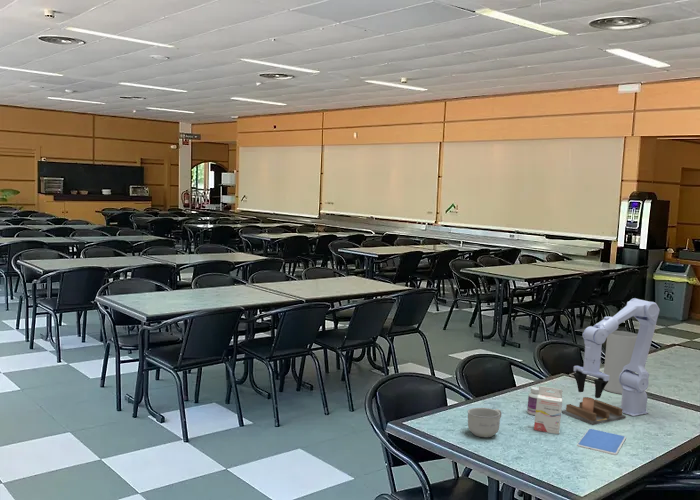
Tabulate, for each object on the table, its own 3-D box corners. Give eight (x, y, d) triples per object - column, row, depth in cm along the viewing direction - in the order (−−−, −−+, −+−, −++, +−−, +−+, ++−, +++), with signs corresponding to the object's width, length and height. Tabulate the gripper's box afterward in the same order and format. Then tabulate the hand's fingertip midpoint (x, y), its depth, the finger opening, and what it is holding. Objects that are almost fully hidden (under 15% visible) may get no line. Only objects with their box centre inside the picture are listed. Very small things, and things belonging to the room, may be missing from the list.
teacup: (479, 442, 219) (481, 418, 218) (459, 430, 228) (461, 407, 227) (512, 437, 225) (514, 413, 224) (491, 426, 235) (493, 403, 234)
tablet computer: (616, 457, 214) (616, 453, 213) (575, 447, 220) (576, 443, 220) (626, 440, 230) (626, 436, 230) (588, 431, 237) (588, 427, 236)
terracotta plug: (586, 412, 254) (587, 396, 253) (595, 415, 250) (596, 399, 250) (579, 413, 251) (580, 397, 251) (587, 416, 248) (589, 400, 248)
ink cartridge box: (533, 430, 233) (537, 389, 231) (534, 426, 237) (538, 385, 236) (559, 434, 230) (563, 392, 229) (559, 430, 235) (563, 389, 233)
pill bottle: (542, 416, 248) (544, 391, 248) (527, 414, 250) (529, 389, 249) (541, 412, 254) (543, 387, 253) (526, 410, 255) (528, 385, 254)
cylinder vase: (599, 385, 297) (604, 329, 295) (628, 387, 295) (634, 332, 293) (606, 393, 285) (611, 335, 283) (636, 396, 283) (642, 337, 281)
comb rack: (594, 407, 264) (595, 398, 264) (625, 418, 252) (626, 409, 252) (561, 413, 254) (562, 404, 254) (592, 425, 242) (593, 415, 242)
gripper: (569, 355, 253) (566, 390, 254) (601, 364, 241) (598, 401, 242) (581, 353, 257) (578, 388, 258) (614, 363, 245) (611, 399, 246)
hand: (589, 394), depth 250 cm, fingers open, 7 cm apart
